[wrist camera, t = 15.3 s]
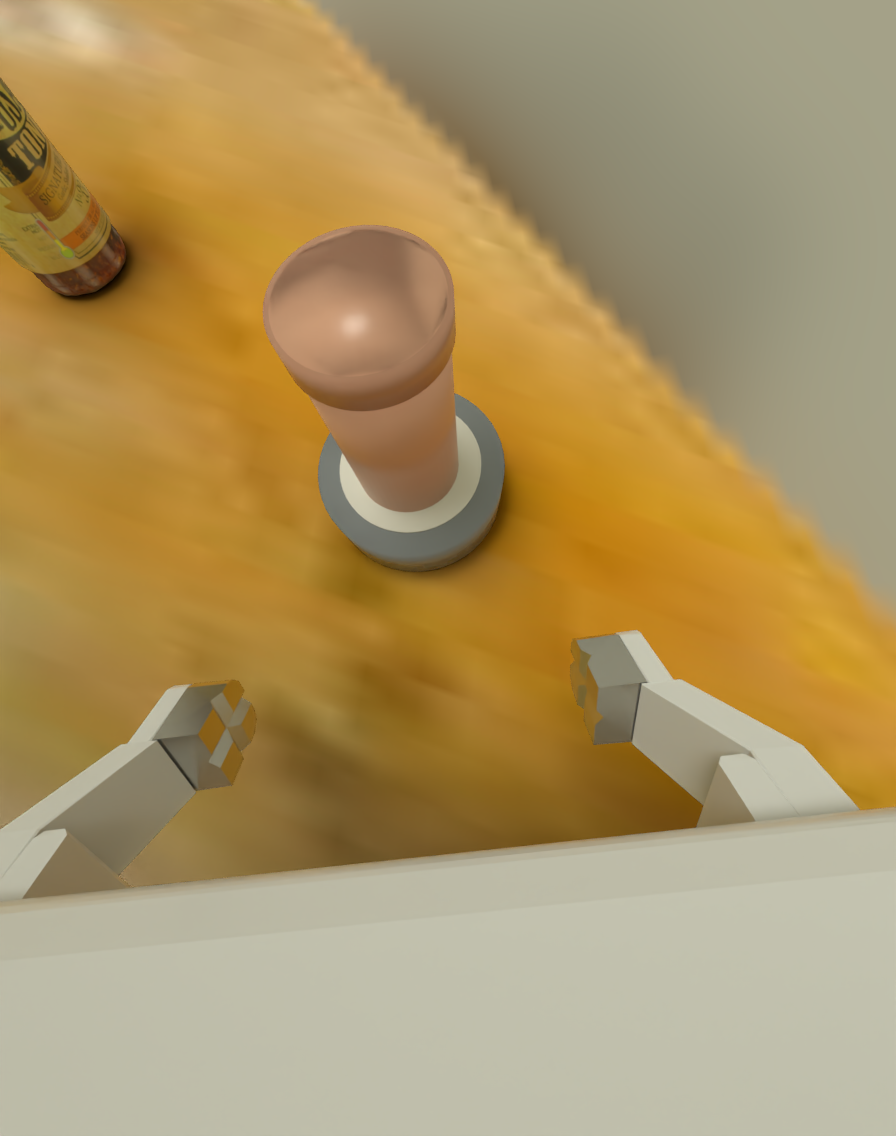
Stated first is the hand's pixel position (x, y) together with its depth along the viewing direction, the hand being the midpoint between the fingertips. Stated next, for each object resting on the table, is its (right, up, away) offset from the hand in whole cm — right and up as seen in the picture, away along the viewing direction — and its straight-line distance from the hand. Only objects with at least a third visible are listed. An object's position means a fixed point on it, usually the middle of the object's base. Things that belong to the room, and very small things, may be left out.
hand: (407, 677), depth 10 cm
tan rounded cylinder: (-1, +8, +10) cm, 12 cm away
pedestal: (-1, +7, +13) cm, 14 cm away
